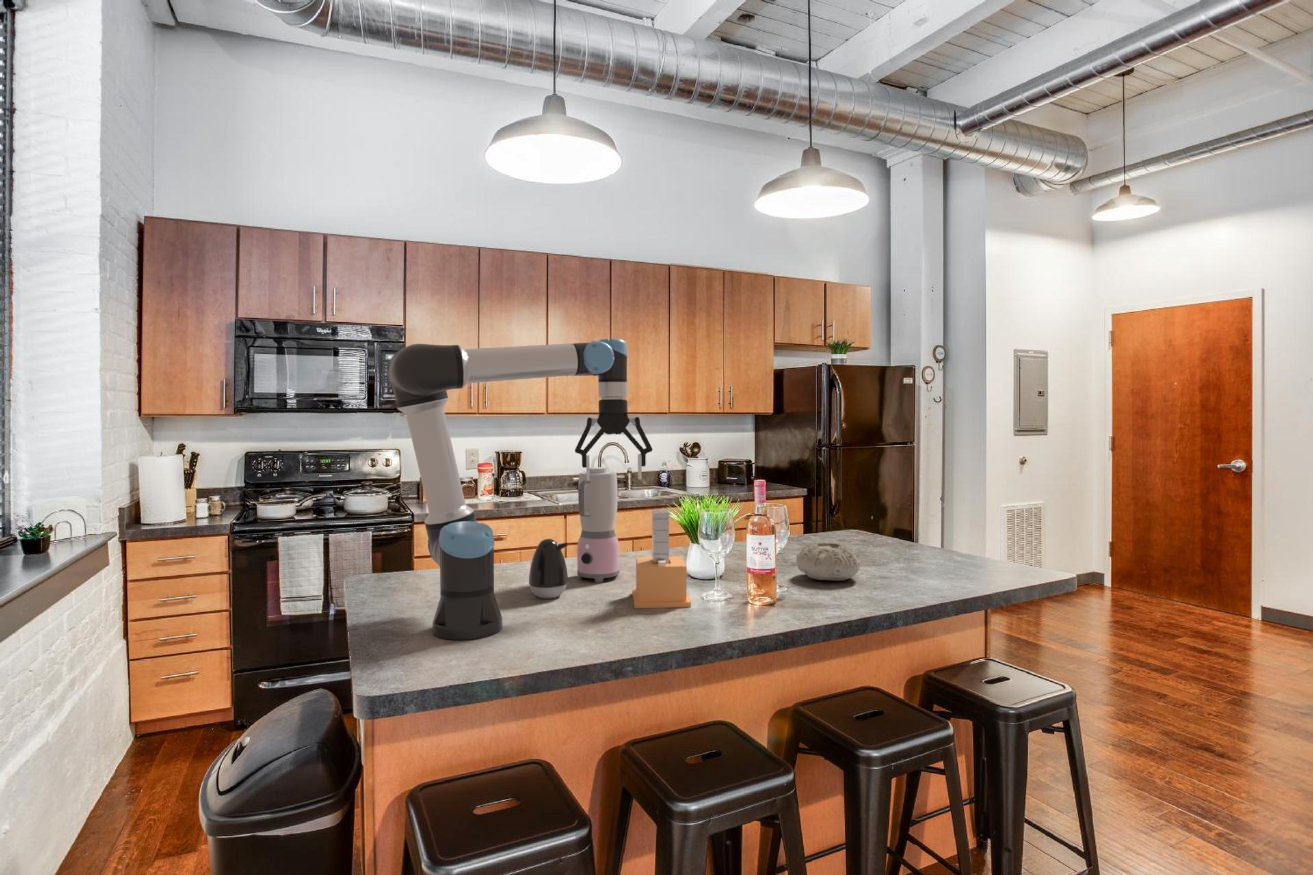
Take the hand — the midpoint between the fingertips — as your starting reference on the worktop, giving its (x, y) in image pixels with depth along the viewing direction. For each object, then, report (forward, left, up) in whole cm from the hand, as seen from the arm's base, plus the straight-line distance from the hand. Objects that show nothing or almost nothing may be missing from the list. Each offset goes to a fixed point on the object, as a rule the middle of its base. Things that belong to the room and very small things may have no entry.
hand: (614, 479), depth 189 cm
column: (-6, -12, -29) cm, 32 cm away
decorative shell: (+13, -62, -31) cm, 70 cm away
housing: (-6, -12, -31) cm, 33 cm away
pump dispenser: (0, +17, -31) cm, 35 cm away
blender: (+18, +5, -31) cm, 36 cm away
